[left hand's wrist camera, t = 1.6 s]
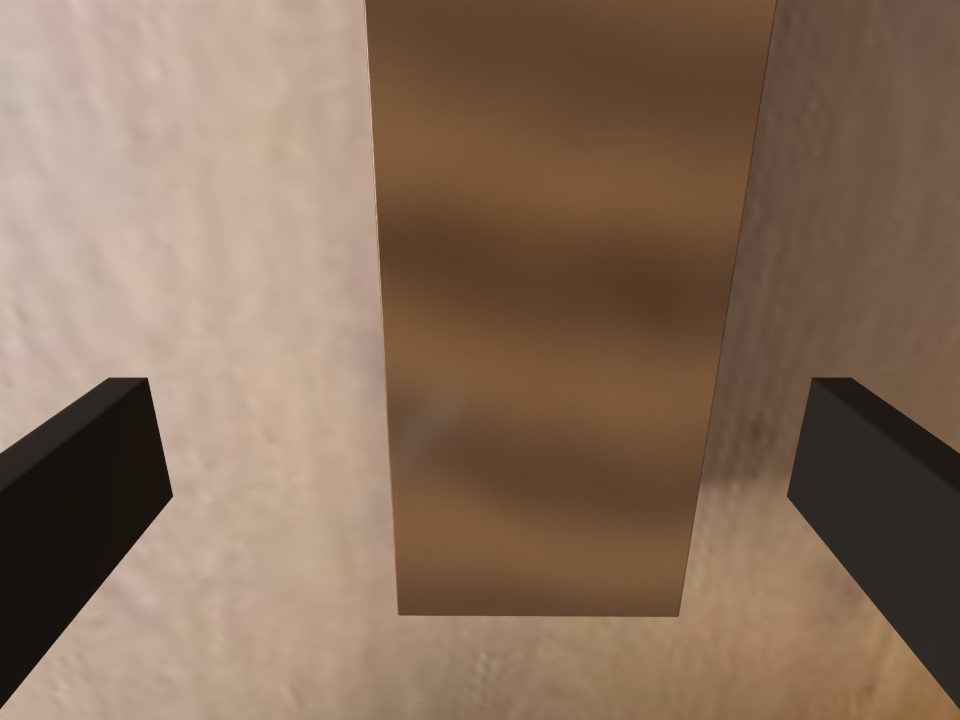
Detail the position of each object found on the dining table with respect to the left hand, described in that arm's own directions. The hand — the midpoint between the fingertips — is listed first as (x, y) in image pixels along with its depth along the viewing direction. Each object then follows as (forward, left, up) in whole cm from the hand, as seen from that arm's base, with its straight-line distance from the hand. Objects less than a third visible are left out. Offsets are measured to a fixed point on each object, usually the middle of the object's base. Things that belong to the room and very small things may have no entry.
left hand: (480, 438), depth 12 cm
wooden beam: (+26, +3, -13) cm, 29 cm away
